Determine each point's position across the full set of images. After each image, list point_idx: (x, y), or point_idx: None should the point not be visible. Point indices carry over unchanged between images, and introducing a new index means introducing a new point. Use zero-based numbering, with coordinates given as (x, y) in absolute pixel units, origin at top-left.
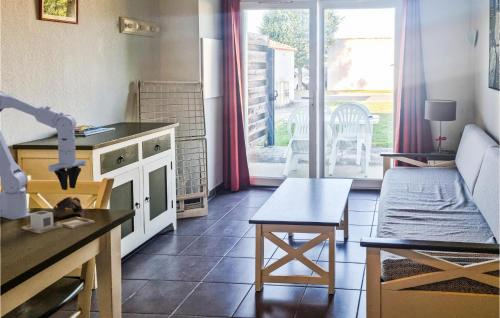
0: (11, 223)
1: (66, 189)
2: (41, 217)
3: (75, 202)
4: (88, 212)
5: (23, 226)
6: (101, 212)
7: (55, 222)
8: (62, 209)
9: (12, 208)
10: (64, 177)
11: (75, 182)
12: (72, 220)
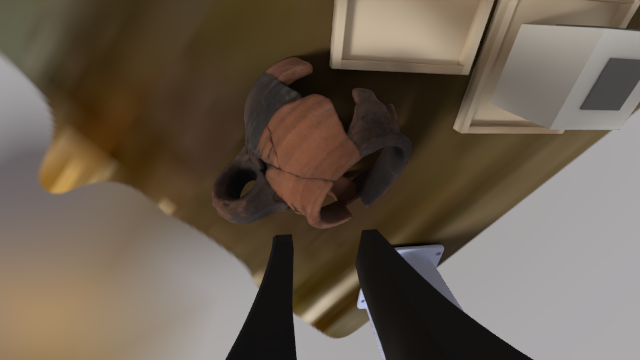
0: (476, 219)
1: (372, 231)
2: None
3: (325, 121)
4: (185, 133)
5: (558, 131)
6: (119, 70)
7: (468, 71)
8: (399, 131)
9: (446, 285)
10: (492, 333)
11: (277, 273)
12: (369, 54)
